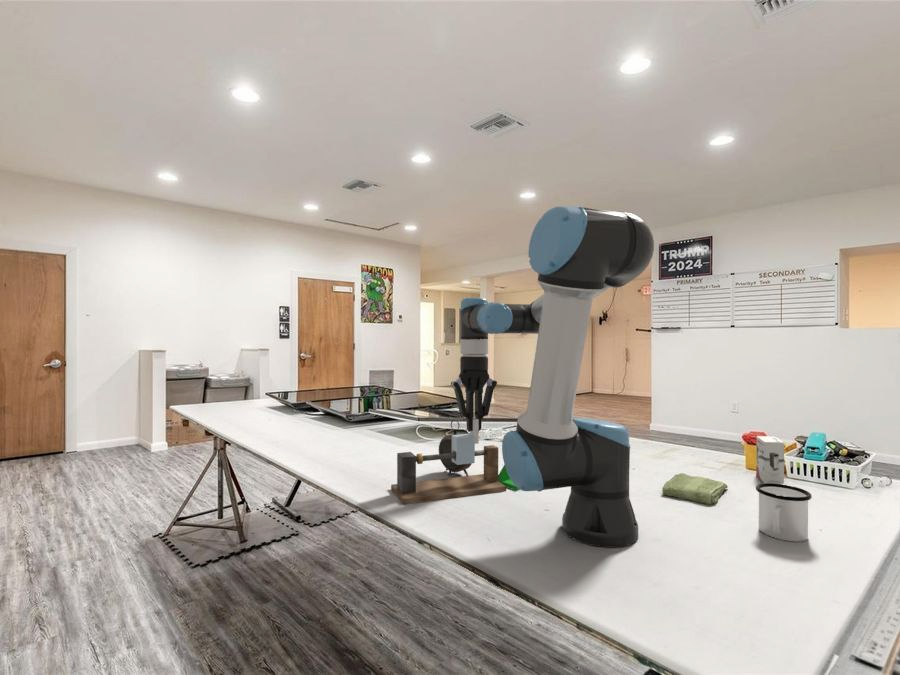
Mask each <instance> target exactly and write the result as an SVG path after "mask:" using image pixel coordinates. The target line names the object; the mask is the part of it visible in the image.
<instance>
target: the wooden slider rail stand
mask: <svg viewBox="0 0 900 675" xmlns="http://www.w3.org/2000/svg"><path fill="white" fill-rule="evenodd" d="M396 455H397V456H396V461H397V462H396V463H397V464H396V465H397V466H396V468H397V470H396V471H397V472H396V483H394V484H391V487H390V490H391V491H392V493H394V495H395V496H396V498H398V500H399V501H400V502H401V504H402V505H409V504H415V503H422V502H431V501H438V500H445V499H452V498H462V497H469V496H476V495H483V494H484V495H485V494H491V493H493V494H494V493H498V492H499V493H500V492H506V491H507V487H506V486H505V485H503V484H502V483H500V482H499V481H498V475H499V447H498V446H496V445H494V444H492V445H483V449H481V450H475V457H480V456H483V473H482V474H481V473H480V474H473V475H468V476H466V475H463V476H456V477H448V478H436V479H429V480H428V479H427V480H421V481H417V465H422V464H423V462H429V461H438V460H440V461H441V459H451V458H456V453H446V454H439V453H437V454H426V455H423V454H422V453H417V454H416V455H415V454H414V453H413V452H411V451H405V452H397V453H396Z"/></svg>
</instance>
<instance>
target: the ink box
mask: <svg viewBox="0 0 900 675" xmlns="http://www.w3.org/2000/svg"><path fill="white" fill-rule="evenodd" d="M755 467H756V469H755V472H756V474H755V475H756V476H757V477H758V478H759V480H761V481H762V482H763V483H775V484H784V485H785V442H784V441H783V440H781V439H780V438H778V437H777V436H767V435H765V436H763V435H756V466H755Z"/></svg>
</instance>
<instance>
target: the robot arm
mask: <svg viewBox="0 0 900 675" xmlns="http://www.w3.org/2000/svg"><path fill="white" fill-rule="evenodd" d="M654 250H655V240H654V235H653V232H652V231H651V229H650V227H649V226H648V225H647V223H646V221H643V219H641V218H640V217H638V216H637V215H635V214H633V213H630V212H625V211H613V210H605V209H597V208H591V207H583V206H578V205H575V206H572V205H571V206H570V205H567V206H563V205H559V206H554V207H552V208H550V209H548V210H547V211H546V212H544V213H543V215H542V216H541V218H539V219H538V221H537V223H535V226H534V228H533V231H532V233H531V236H530V239H529V244H528V250H527V251H528V253H527V254H528V258H530V259H529V261H528V262H529V265H530V267H531V269H532V270H533V271H534V272H535V273H537V274H538V276H537V283H538V284H539V286H540V287H541V288H542V290H543V292H544V293H543V294H541V295H540V296H539V297H537V298H536V299H535V300H534V301H532V302H531V303H525V304H524V303H523V304H522V303H521V304H520V303H517V304H516V303H503V302H493V301H492V302H489V301H488V299H487V298H485V297H484V298H483V297H466V298H463V299H461V301H460V310H459V315H460V316H459V318H460V320H459V321H460V326H459V327H460V331H459V332H460V342H459V343H460V355H461V356H460V360H459V362H460V364H459V365H460V366H459V368H460V372H459V374H458V377H457V379H456V380H454V381H451V382H450V385H451V387H452V389H453V390H454V394H455V398H456V404H457V407H458V412H459V415H460V416H461V417H463V418H465V419H466V430H467V431H469V434H470V435H472V436H474V437H475V445H476V444H479V440H480V439H479V433H480V432H479V431H481V430H482V423H483V422H482V419H483V420H484V417H487V416H489V412H490V408H491V404H492V403H491V402H492V399H493V394H494V390H495V388H496V386H497V385H498V382H497V380H493V379H492V378H491V377H490V373H489V357H488V356H487V355H488V354H489V335H494V334H496V335H497V334H498V335H499V334H524V335H525V334H527V335H528V334H529V335H530V334H531V335H532V334H535V335H536V334H537V340H536V345H535V346H536V347H535V354H534V359H533V367H532V373H531V374H532V375H531V380H530V388H529V394H528V400H527V408H526V411H524V412H523V413H521V414H520V415H518V417H517V421H516V429H515V430H509V431H507V432H506V433H505V434H504V435H503V438H502V442H501V443H502V444H501V453H502V459H503V465H505V467H506V471H507V473H508V475H509V477H510V479H511V481H512V482H513V484H514V485H515V486H516V487H517V488H518V489H520V490H519V491H522V492H535V491H537V492H539V493H540V492H542V491H545V490H554V489H561V488H562V489H563V488H569V487H570V494H569V496H568V499H567V503H566V506H565V510H564V512H563V514H562V518H561V529H562V531H563V533H564V534H566V536H568V537H569V538H571V539H573V540H575V541H577V542H580V543H583V544H587V545H590V546H596V547H604V548H605V547H606V548H621V547H627V546H630V545H632V544H635V543H636V542H637V541H638V539H639V523H638V520H637V519H636V514H635V511H634V509H633V506H632V505H633V504H632V501H631V499H630V459H631V458H630V456H631V452H630V451H631V445H630V433H629V430H628V429H627V427H626V426H624V425H622V424H620V423H616V422H612V421H607V420H600V419H594V418H585V417H574V418H573V412H574V409H575V408H574V406H575V401H576V397H577V390H578V385H579V378H580V374H581V373H580V372H581V369H582V368H581V367H582V362H583V356H584V350H585V345H586V339H587V333H588V329H589V328H588V327H589V321H590V318H591V317H590V315H591V310H592V305H593V299H595V298H597V297H598V296H600V295H601V294H604V292H607V291H609V290H610V289H611V288H616V289H618V288H621V287H624V286H626V285H627V284H629V283H630V282H632V281H634V280H635V279H637V278H638V277H639V276H640V275H641V274H643V272H644V271H645V270H646V269H647V268H648V267H649V264H650V263H651V260H652V259H653V255H654ZM462 386H463V387H464V388H465V390H464V391H465V397H464V393H463V390H462V388H461V387H462ZM485 386H486V387H485ZM484 387H485V391H484ZM483 394H484V396H483Z"/></svg>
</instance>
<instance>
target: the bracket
mask: <svg viewBox="0 0 900 675" xmlns="http://www.w3.org/2000/svg"><path fill="white" fill-rule="evenodd" d="M498 481H499V482H500V483H502V484H503V485H505V486H506V489H507V488H508V489H511V490H514V491H516V492H517V491H521V490H520V489H518V488H517V487H516V486H515V485H514V484H513V482H512V481H511V479H510V477H509V475H508V473H507V471H506V467H505V464H503V466H502V468H501V470H500V471H499V472H498Z"/></svg>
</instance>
